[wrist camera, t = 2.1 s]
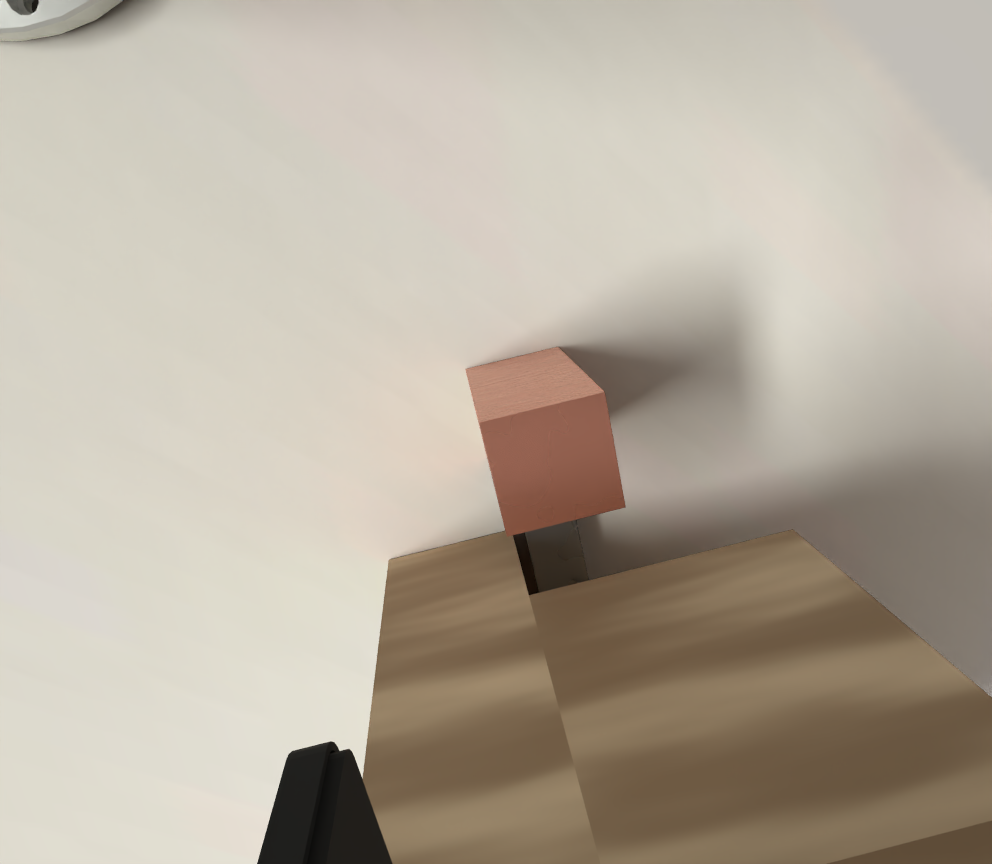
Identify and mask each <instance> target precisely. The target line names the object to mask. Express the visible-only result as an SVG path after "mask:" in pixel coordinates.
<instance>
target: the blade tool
mask: <svg viewBox="0 0 992 864" xmlns="http://www.w3.org/2000/svg"><path fill="white" fill-rule="evenodd" d="M466 373H467V377H468V381H469V385H470V389H471V393H472V398H473V402H474V406H475V410H476V414H477V418H478V422H479V426H480V430H481V434H482V438H483V443H484V447H485V451H486V455H487V459H488V463H489V467H490V471H491V475H492V479H493V483H494V487H495V491H496V495H497V499H498V503H499V507H500V511H501V515H502V519H503V523H504V527H505V531H506V535H507V537H508V536H512V535H516V534H520V533H524V532H525V535H526V540H527V544H528V548H529V553H530V557H531V561H532V565H533V570H534V574H535V578H536V582H537V587H538V591H539V593H540V592H544V591H548V590H552V589H556V588H560V587H564V586H568V585H572V584H576V583H580V582H584V581H588V575H587V570H586V565H585V560H584V555H583V551H582V546H581V541H580V536H579V531H578V526H577V522H576V519H580V518H584V517H588V516H592V515H596V514H600V513H604V512H608V511H612V510H616V509H620V508H624V507H625V501H624V496H623V490H622V485H621V479H620V474H619V468H618V463H617V457H616V451H615V446H614V440H613V435H612V429H611V424H610V418H609V413H608V407H607V401H606V396H605V392H604V391H603V390H602V389H601V388H600V387H599V386H598V385H597V384H596V383H595V382H594V381H593V380H592V379H591V378H590V377H589V376H588V375H587V374H586V373H585V372H584V371H583V370H581V369H580V368H579V367H578V366H577V365H576V364H575V363H574V362H573V361H572V360H571V359H570V358H569V357H568V356H567V355H566V354H565V353H564V352H563V351H562V350H561V349H560V348H559V347H555V348H550V349H546V350H542V351H538V352H534V353H530V354H526V355H522V356H517V357H513V358H509V359H505V360H501V361H497V362H493V363H489V364H484V365H480V366H476V367H472V368H468V369H466Z"/></svg>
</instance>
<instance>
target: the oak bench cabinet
mask: <svg viewBox="0 0 992 864" xmlns="http://www.w3.org/2000/svg"><path fill="white" fill-rule="evenodd" d="M363 783H364V785H365V788H366V791H367V794H368V796H369V799H370V802H371V805H372V808H373V810H374V813H375V816H376V819H377V822H378V824H379V827H380V830H381V833H382V835H383V838H384V841H385V844H386V847H387V849H388V852H389V855H390V858H391V861H392V863H393V864H992V697H990V696H989V695H988V694H987V693H986V692H984V691H983V690H982V689H981V688H980V687H979V686H977V685H976V684H975V683H974V682H973V681H971V680H970V679H969V678H968V677H967V676H966V675H964V674H963V673H962V672H961V671H960V670H958V669H957V668H956V667H955V666H954V665H953V664H951V663H950V662H949V661H948V660H947V659H945V658H944V657H943V656H942V655H941V654H940V653H938V652H937V651H936V650H935V649H934V648H932V647H931V646H930V645H929V644H928V643H927V642H925V641H924V640H923V639H922V638H921V637H919V636H918V635H917V634H916V633H915V632H914V631H912V630H911V629H910V628H909V627H908V626H906V625H905V624H904V623H903V622H902V621H901V620H899V619H898V618H897V617H896V616H895V615H893V614H892V613H891V612H890V611H889V610H888V609H886V608H885V607H884V606H883V605H882V604H880V603H879V602H878V601H877V600H876V599H875V598H873V597H872V596H871V595H870V594H869V593H867V592H866V591H865V590H864V589H863V588H862V587H860V586H859V585H858V584H857V583H856V582H854V581H853V580H852V579H851V578H850V577H849V576H847V575H846V574H845V573H844V572H843V571H841V570H840V569H839V568H838V567H837V566H836V565H834V564H833V563H832V562H831V561H830V560H828V559H827V558H826V557H825V556H824V555H823V554H821V553H820V552H819V551H818V550H817V549H815V548H814V547H813V546H812V545H811V544H809V543H808V542H807V541H806V540H805V539H804V538H802V537H801V536H800V535H799V534H798V533H796V532H795V531H794V530H793V529H792V530H788V531H784V532H780V533H776V534H772V535H768V536H764V537H760V538H756V539H752V540H748V541H744V542H740V543H736V544H732V545H728V546H724V547H720V548H716V549H712V550H708V551H704V552H700V553H696V554H692V555H688V556H684V557H680V558H676V559H672V560H668V561H664V562H660V563H656V564H652V565H648V566H644V567H640V568H636V569H632V570H628V571H624V572H620V573H616V574H612V575H608V576H604V577H600V578H596V579H592V580H588V581H584V582H580V583H576V584H572V585H568V586H564V587H560V588H556V589H552V590H548V591H544V592H540V593H536V594H532V595H529V594H528V591H527V587H526V583H525V579H524V576H523V572H522V568H521V564H520V561H519V557H518V553H517V549H516V546H515V542H514V538H513V535H512V536H508V537H507V535H506V531H504V532H500V533H496V534H492V535H487V536H483V537H479V538H475V539H471V540H467V541H463V542H459V543H455V544H451V545H447V546H443V547H439V548H435V549H431V550H427V551H423V552H419V553H415V554H411V555H407V556H403V557H399V558H395V559H391V560H389V562H388V571H387V579H386V587H385V596H384V604H383V613H382V621H381V629H380V638H379V646H378V655H377V663H376V671H375V680H374V688H373V696H372V705H371V713H370V722H369V730H368V738H367V747H366V755H365V764H364V772H363Z"/></svg>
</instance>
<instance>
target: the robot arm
mask: <svg viewBox="0 0 992 864" xmlns="http://www.w3.org/2000/svg"><path fill="white" fill-rule="evenodd" d="M122 1H123V0H39V5H38V7H37V9H36V11H35V12H33V11H32V6H31V4H32V2H33V0H0V41H25V40H31V39H37V38H43V37H48V36H54V35H60V34H63V33H65V32H68V31H70V30H72V29H75V28H77V27H80V26H82V25H84V24H87V23H89V22H92V21H94V20H96V19H98V18H99V17H101V16H102V15H104V14H105V13H106V12H108V11H109V10H111V9H112V8H113V7H115V6H116V5H117V4H119V3H120V2H122ZM257 864H393V863H392V861H391V858H390V855H389V852H388V849H387V847H386V844H385V841H384V838H383V835H382V833H381V830H380V827H379V824H378V822H377V819H376V816H375V813H374V810H373V808H372V805H371V802H370V799H369V796H368V794H367V791H366V788H365V785H364V783H363V780H362V777H361V774H360V771H359V769H358V766H357V763H356V760H355V757H354V755H353V753H352V751H351V750H350V749H347V750H343V751H339V749H338V747H337V745H336V744H335V743H334V742H327V743H323V744H319V745H315V746H311V747H307V748H303V749H299V750H295V751H292V752H291V753H289V755H288V757H287V760H286V763H285V766H284V770H283V774H282V777H281V781H280V784H279V788H278V791H277V795H276V799H275V802H274V806H273V809H272V813H271V816H270V820H269V824H268V827H267V831H266V834H265V838H264V841H263V845H262V849H261V852H260V856H259V859H258V863H257Z"/></svg>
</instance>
